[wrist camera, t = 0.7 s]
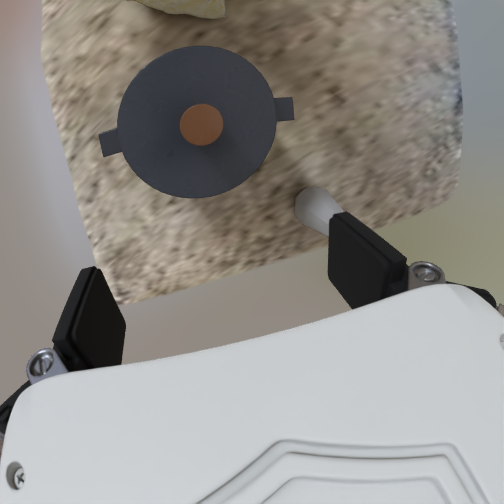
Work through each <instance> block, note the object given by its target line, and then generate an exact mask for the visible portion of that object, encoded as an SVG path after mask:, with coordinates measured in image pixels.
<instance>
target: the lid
mask: <svg viewBox="0 0 504 504" xmlns="http://www.w3.org/2000/svg"><path fill="white" fill-rule="evenodd" d="M276 123H277V114H276V106H275V101H274V97H273V94H272V91H271V89H270V87H269V85H268V83H267V82H266V80H265V79H264V77H263V76H262V74H261V73H260V72H259V71H258V70H257V69H256V68H255V67H254V66H253V65H252V64H251V63H250V62H248V61H247V60H246V59H244V58H242V57H241V56H239V55H237V54H235V53H233V52H231V51H228V50H225V49H221V48H217V47H211V46H190V47H184V48H180V49H176V50H173V51H170V52H168V53H165V54H163V55H162V56H160V57H158V58H156V59H154V60H153V61H152V62H150V63H149V64H148V65H146V66H145V67H144V68H143V69H142V70H141V71H140V72H139V73H138V74H137V75H136V76H135V78H134V79H133V80H132V82H131V83H130V85H129V86H128V88H127V90H126V92H125V94H124V96H123V98H122V101H121V104H120V108H119V113H118V120H117V132H118V139H119V143H120V147H121V150H122V152H123V155H124V157H125V159H126V161H127V162H128V164H129V166H130V167H131V169H132V170H133V171H134V172H135V173H136V175H137V176H138V177H140V178H141V179H142V180H143V181H144V182H145V183H147V184H148V185H150V186H151V187H153V188H155V189H157V190H158V191H160V192H163V193H166V194H168V195H172V196H176V197H181V198H205V197H211V196H215V195H218V194H221V193H224V192H226V191H229V190H231V189H233V188H234V187H236V186H238V185H240V184H241V183H242V182H244V181H245V180H247V179H248V178H249V177H250V176H251V175H252V174H253V173H254V172H255V171H256V170H257V169H258V168H259V166H260V165H261V164H262V162H263V161H264V159H265V158H266V156H267V154H268V152H269V150H270V148H271V146H272V143H273V140H274V136H275V132H276Z"/></svg>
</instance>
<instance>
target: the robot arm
mask: <svg viewBox="0 0 504 504" xmlns="http://www.w3.org/2000/svg"><path fill="white" fill-rule="evenodd" d="M328 251H329V252H328V277H329V280H330V281H331V282H332V284H333V285H334V286H335V287H336V289H337V290H338V291H339V293H340V294H341V295H342V297H343V298H344V299H345V300H346V302H347V303H348V304H349V306H350V307H351V308H352V310H350V311H347V312H344V313H341V314H338V315H335V316H332V317H329V318H325V319H322V320H318V321H315V322H312V323H308V324H305V325H301V326H298V327H295V328H291V329H288V330H284V331H280V332H276V333H273V334H269V335H265V336H261V337H258V338H253V339H249V340H245V341H241V342H237V343H233V344H229V345H224V346H220V347H216V348H211V349H207V350H202V351H197V352H192V353H187V354H182V355H177V356H171V357H166V358H160V359H155V360H149V361H143V362H137V363H130V364H124V365H121V363H122V354H123V346H124V338H125V331H126V330H125V329H126V323H125V320H124V318H123V316H122V314H121V312H120V310H119V308H118V306H117V303H116V301H115V299H114V297H113V295H112V293H111V291H110V289H109V286H108V284H107V282H106V280H105V277H104V275H103V273H102V271H101V270H100V269H97V268H96V267H95V266H93V267H89V268H85V269H82V270H81V271H80V273H79V276H78V278H77V280H76V282H75V284H74V286H73V289H72V291H71V293H70V296H69V298H68V300H67V303H66V305H65V307H64V310H63V312H62V315H61V317H60V320H59V323H58V325H57V328H56V331H55V333H54V336H53V339H52V341H53V343H54V347H53V349H51V348H44V349H41V350H39V351H38V352H36V353H35V354H34V355H33V356H32V357H31V358H30V360H29V362H28V364H27V367H26V372H27V376H28V379H29V380H28V381H27V382H26V383H25V384H24V385H22V386H21V387H20V388H19V389H18V390H17V391H16V392H15V393H14V394H13V395H11V396H10V397H9V398H8V399H7V400H6V401H5V402H4V403H3V404H2V405H1V406H0V504H504V305H502V304H499V306H496V301H495V299H494V298H493V296H492V295H491V294H490V293H489V292H488V291H486V290H484V289H479V288H475V287H470V286H466V285H461V284H456V283H452V282H448V281H446V280H445V275H444V272H443V271H442V270H441V268H439V267H438V266H437V265H435V264H432V263H429V262H424V261H419V262H414V263H412V264H411V265H410V266H408V265H407V264H406V261H407V258H406V257H405V256H403V255H402V254H401V253H400V252H399V251H398V250H396V249H395V248H394V247H393V246H391V245H390V244H389V243H388V242H386V241H385V240H384V239H383V238H381V237H380V236H379V235H377V234H376V233H375V232H374V231H372V230H371V229H370V228H368V227H367V226H366V225H365V224H363V223H362V222H361V221H359V220H358V219H357V218H355V217H354V216H353V215H351V214H350V213H348V212H347V211H346V212H341V213H335V214H333V216H332V218H330V219H329V248H328Z"/></svg>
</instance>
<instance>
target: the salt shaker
mask: <svg viewBox="0 0 504 504" xmlns="http://www.w3.org/2000/svg"><path fill="white" fill-rule="evenodd" d="M294 210H295V214H296V218H297V219H298V220H299V221H300V222H301V223H302V224H303V225H305V226H307V227H309V228H311V229H313V230H315V231H317V232H319V233H321V234H324V235H326V236H328V237H329V219H330V218H332V216H333V214H335V213H341V212H344V211H343V210H342V208H341V207H340V206H339V205H338V203H337V202H336V201H335V200H334V199H333V197H332V196H331V195H330V194H329V193H328V191H327V190H325V189H322V188H319V187H311V188H305V189H303V190H302V191H301V192H300V193H299V194H298V195H297V196H296V197H295V207H294ZM358 220H359V219H358ZM359 221H360V220H359Z"/></svg>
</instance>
